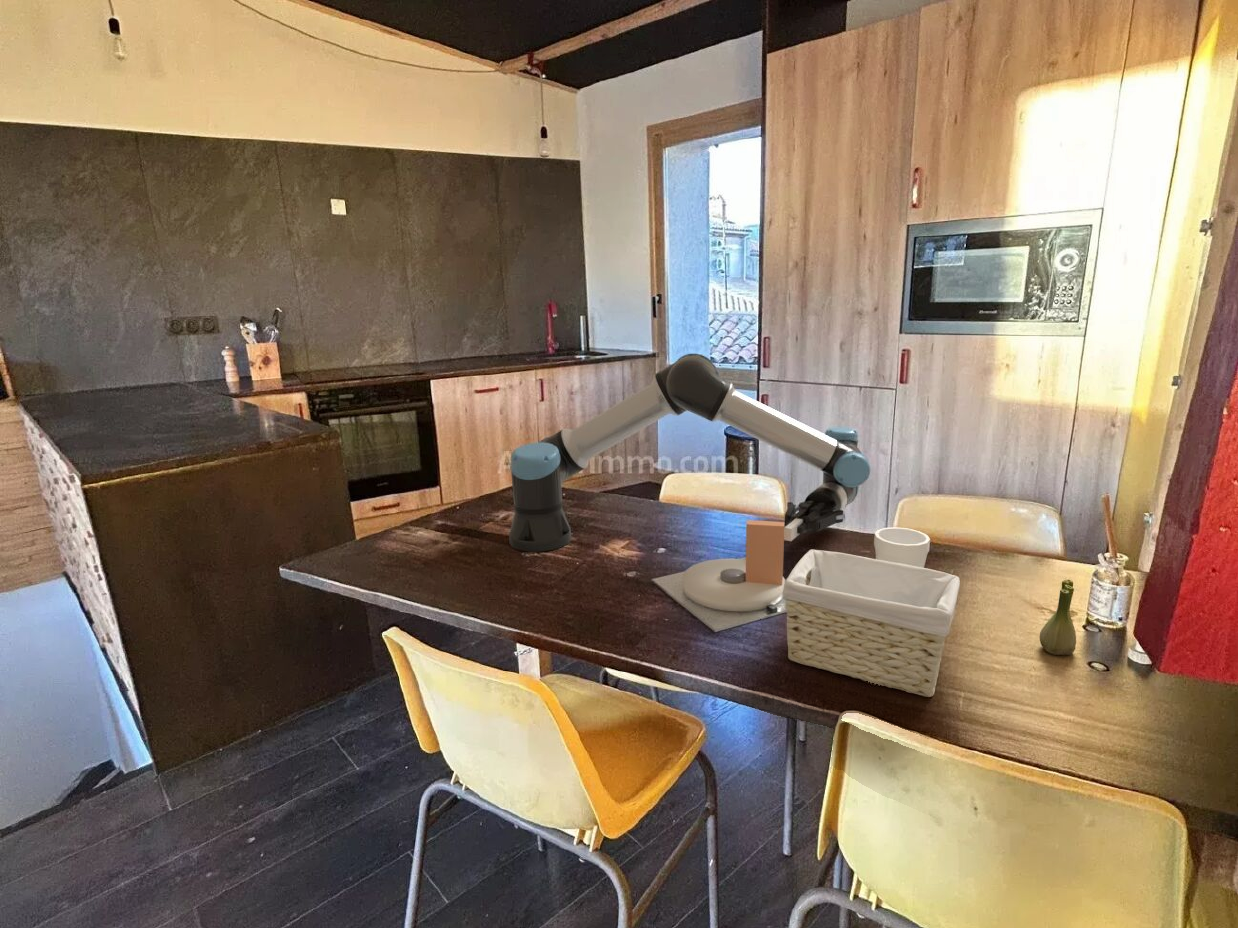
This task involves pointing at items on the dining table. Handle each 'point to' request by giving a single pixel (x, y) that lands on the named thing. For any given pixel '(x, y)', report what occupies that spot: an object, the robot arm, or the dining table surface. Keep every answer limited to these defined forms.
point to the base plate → (714, 616)
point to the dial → (742, 573)
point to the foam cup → (901, 546)
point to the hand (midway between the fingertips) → (787, 534)
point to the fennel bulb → (1060, 625)
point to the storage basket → (870, 618)
